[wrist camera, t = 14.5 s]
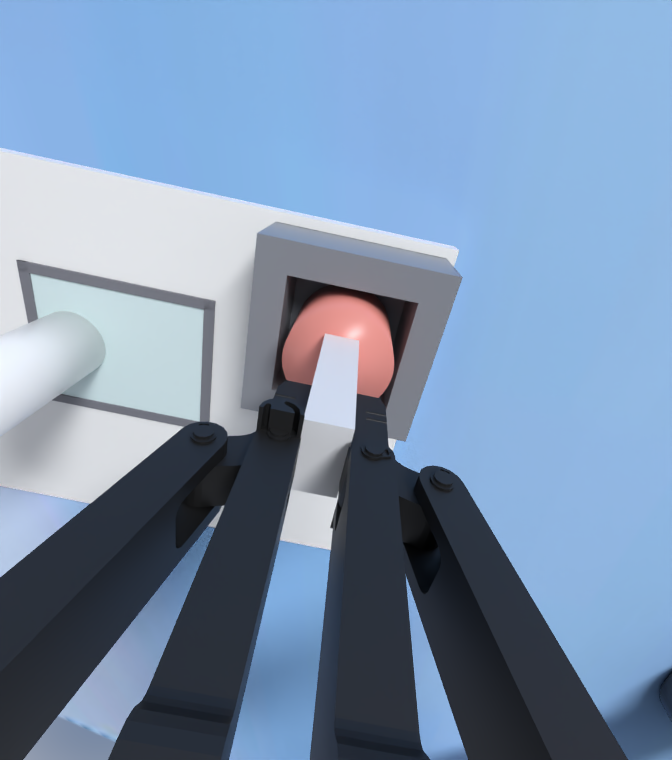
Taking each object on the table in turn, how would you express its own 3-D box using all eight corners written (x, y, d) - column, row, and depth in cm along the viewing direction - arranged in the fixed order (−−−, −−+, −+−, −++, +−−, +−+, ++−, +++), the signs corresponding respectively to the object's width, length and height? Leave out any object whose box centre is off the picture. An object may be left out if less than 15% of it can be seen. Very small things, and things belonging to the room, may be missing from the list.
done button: (377, 378, 23) (378, 421, 19) (291, 360, 23) (275, 400, 19) (400, 294, 21) (407, 324, 17) (304, 274, 20) (290, 299, 17)
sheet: (358, 542, 33) (357, 556, 32) (-7, 471, 32) (-22, 483, 31) (454, 246, 22) (459, 251, 20) (-107, 124, 21) (-136, 121, 20)
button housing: (400, 402, 25) (405, 441, 22) (258, 373, 25) (240, 408, 21) (446, 258, 21) (462, 277, 17) (276, 221, 21) (256, 233, 17)
